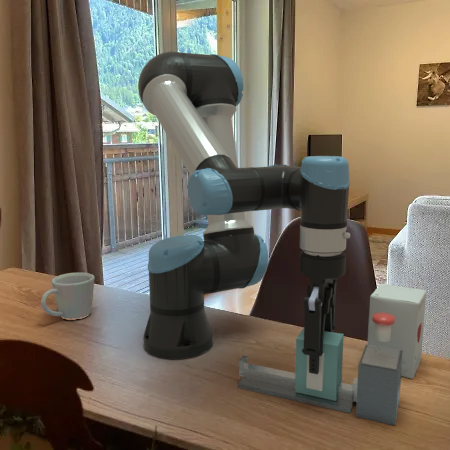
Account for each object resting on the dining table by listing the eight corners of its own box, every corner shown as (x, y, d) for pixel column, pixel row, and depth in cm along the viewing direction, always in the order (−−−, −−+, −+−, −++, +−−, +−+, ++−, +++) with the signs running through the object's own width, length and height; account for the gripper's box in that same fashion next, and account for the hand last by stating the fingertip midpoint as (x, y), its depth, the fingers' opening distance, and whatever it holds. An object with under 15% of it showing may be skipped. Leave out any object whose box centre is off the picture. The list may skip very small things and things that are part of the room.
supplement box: (413, 380, 86) (419, 303, 84) (365, 368, 91) (368, 295, 88) (422, 360, 94) (427, 289, 91) (377, 350, 99) (380, 282, 96)
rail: (233, 386, 85) (233, 366, 84) (247, 369, 91) (247, 350, 90) (355, 414, 76) (356, 392, 75) (361, 393, 82) (362, 372, 81)
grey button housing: (356, 416, 75) (358, 363, 74) (363, 392, 82) (365, 342, 81) (395, 425, 73) (398, 370, 71) (399, 399, 80) (402, 349, 78)
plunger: (370, 340, 75) (371, 318, 74) (372, 332, 78) (374, 311, 77) (392, 344, 73) (393, 321, 72) (394, 336, 76) (395, 314, 76)
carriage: (295, 392, 81) (296, 338, 79) (302, 379, 85) (303, 327, 83) (335, 401, 78) (337, 345, 76) (341, 387, 82) (343, 334, 81)
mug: (105, 312, 121) (103, 275, 119) (57, 333, 109) (54, 292, 107) (78, 305, 127) (75, 270, 125) (29, 324, 114) (26, 285, 112)
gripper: (333, 266, 67) (328, 413, 72) (355, 241, 83) (350, 362, 88) (284, 261, 70) (281, 401, 75) (314, 237, 87) (310, 354, 91)
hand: (318, 380), depth 81 cm, fingers closed on carriage, 5 cm apart
